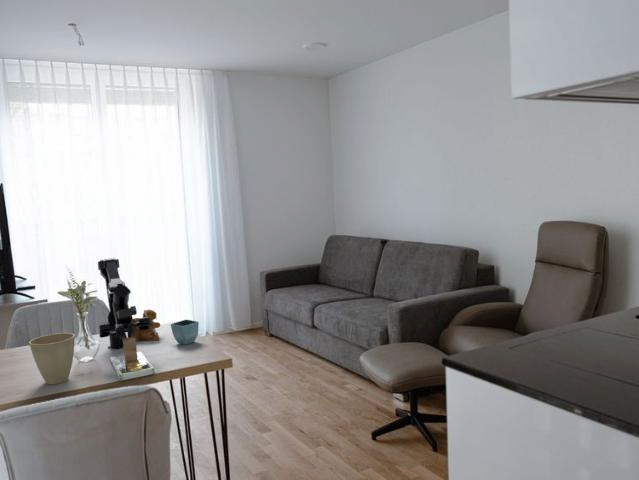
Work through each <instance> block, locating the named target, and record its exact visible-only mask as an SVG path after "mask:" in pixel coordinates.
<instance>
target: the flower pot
mask: <svg viewBox="0 0 639 480" xmlns="http://www.w3.org/2000/svg"><path fill="white" fill-rule="evenodd" d="M170 328H171V332H172V336H173V338H174V340H175V341H176V342H177V343H178V344H180V345H184V346H186V345H190V344H191V343H195V341H196V340H197V338H198V335H199V321H197V320H192V319H182V320H180V321H176V322H173V323H171V324H170Z"/></svg>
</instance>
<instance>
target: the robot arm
mask: <svg viewBox="0 0 639 480" xmlns="http://www.w3.org/2000/svg"><path fill="white" fill-rule="evenodd" d="M97 268H98V271H99V272H100V276H102V278H103V279H104V280H105V288H106V293H107V302H108V309H109V312H108V315H107V317H106V321H105V323H100V324H99V326H98V334H99V338H107V337H108V338H109V345H108V346H107V349H114V350H120V349H122V348H124V346H123V339H125V338H131V337H132V335H133V334H135V331H136V327H139V330H141V331H144V330H149V329H150V323H151V321H150V318H149V317H143V316H142V317H138V318H139V322H133V323H132V321H133V319H134V318H133V316H136V315H137V313H138V312H137V311H138V310H137V307H136V305H133V306H130V307H129V300H130V299H129V298H130V294H131V289H129V287H128V286H127V285H126V282H125V281H123V280H122V279H121V278H120V274H119V268H120V260H119V258H118V259H117V258H115V257H113V258H112V257H111V258H102V259H100V260H99V261H98V262H97Z"/></svg>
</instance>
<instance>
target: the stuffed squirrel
mask: <svg viewBox="0 0 639 480" xmlns="http://www.w3.org/2000/svg"><path fill="white" fill-rule="evenodd" d="M157 315H158V314H157V312H156V311H155V310H152V309H144V310H143V313H142V318H143V317H149V318H150V321H151V323H150V329H149V330H144V331H141V330H139V327H136V331H135V334H133V335H132V337H134V338H135V339H136V342H140V341H145V342H151V341H152V342H153V341H154V340H155V341H159V340H160V338H161V337H160V335H159V333H158V332H157V330H156V329H157V328H160V327H161V323H160V322H157V321H154V320H155V319H158V318H157ZM139 318H140V317H135V318H133V321H132V323H133V322H139Z"/></svg>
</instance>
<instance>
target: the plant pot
mask: <svg viewBox="0 0 639 480" xmlns="http://www.w3.org/2000/svg"><path fill="white" fill-rule="evenodd" d="M75 337H76V335H75V334H74V333H73V332H72V333H70V332H60V333H59V332H57V333H51V334H45V335H42V336H38V337H35V338H33V339H31V340H30V341H29V342H28V343H29V344H28V345H29V348H30V349H31V350H30V351H31V354H32V357H33V360H34V363H35V364H36V368H37V369H38V371H39V373H40V375H41V377H42V379H43V380H44V383H45V384H47V385H57V384H58V385H59V384H62V383H64V382H66V381H68V380H69V378H70V374H71V369H72V365H73V360H74V352H75V340H76V339H75Z"/></svg>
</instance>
